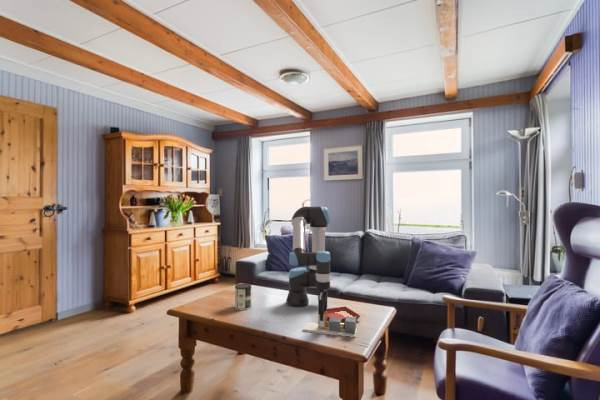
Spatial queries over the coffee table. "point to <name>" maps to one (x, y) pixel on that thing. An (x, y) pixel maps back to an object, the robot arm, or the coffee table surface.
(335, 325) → the grey speckled block
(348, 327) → the socket
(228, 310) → the coffee table surface
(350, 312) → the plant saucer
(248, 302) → the coffee can
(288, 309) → the coffee table surface
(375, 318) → the coffee table surface
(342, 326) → the yellow wall block
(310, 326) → the base board
